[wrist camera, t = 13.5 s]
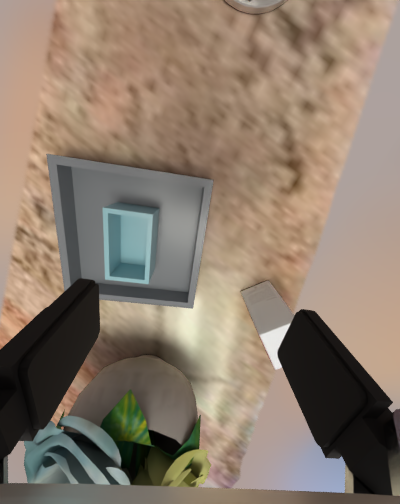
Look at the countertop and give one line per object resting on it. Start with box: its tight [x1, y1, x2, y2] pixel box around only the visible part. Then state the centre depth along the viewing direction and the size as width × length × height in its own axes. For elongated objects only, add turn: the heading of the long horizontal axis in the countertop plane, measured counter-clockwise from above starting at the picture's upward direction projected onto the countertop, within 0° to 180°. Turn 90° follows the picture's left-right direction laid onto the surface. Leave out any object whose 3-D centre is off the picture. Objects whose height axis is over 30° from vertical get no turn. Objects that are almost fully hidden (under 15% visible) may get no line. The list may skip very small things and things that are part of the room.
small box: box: [241, 280, 295, 370], centre depth 31 cm, size 8×6×10 cm
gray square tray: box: [47, 154, 214, 308], centre depth 29 cm, size 20×20×4 cm
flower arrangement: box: [24, 355, 211, 487], centre depth 30 cm, size 25×25×24 cm
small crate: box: [103, 202, 159, 284], centre depth 27 cm, size 10×6×5 cm, turn 171°
